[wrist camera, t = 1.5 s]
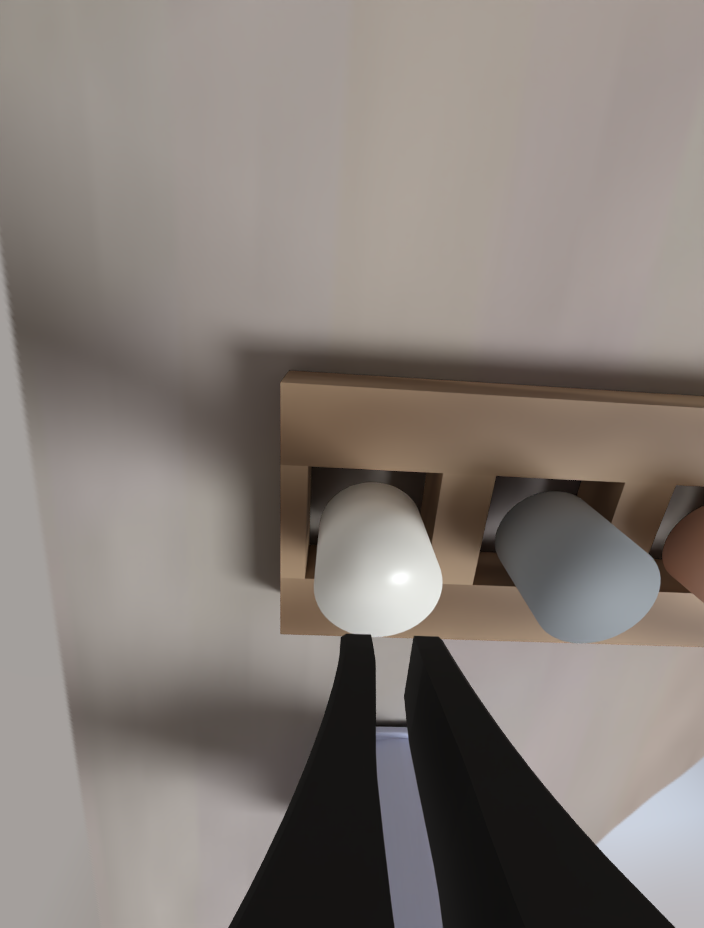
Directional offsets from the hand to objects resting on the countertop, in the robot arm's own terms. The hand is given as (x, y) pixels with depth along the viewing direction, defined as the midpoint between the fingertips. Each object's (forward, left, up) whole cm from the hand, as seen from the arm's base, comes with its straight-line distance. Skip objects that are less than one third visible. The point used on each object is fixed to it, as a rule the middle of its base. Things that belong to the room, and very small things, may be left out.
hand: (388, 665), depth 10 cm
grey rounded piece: (0, -7, -6) cm, 9 cm away
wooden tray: (0, -7, -9) cm, 11 cm away
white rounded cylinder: (0, 0, -6) cm, 6 cm away
